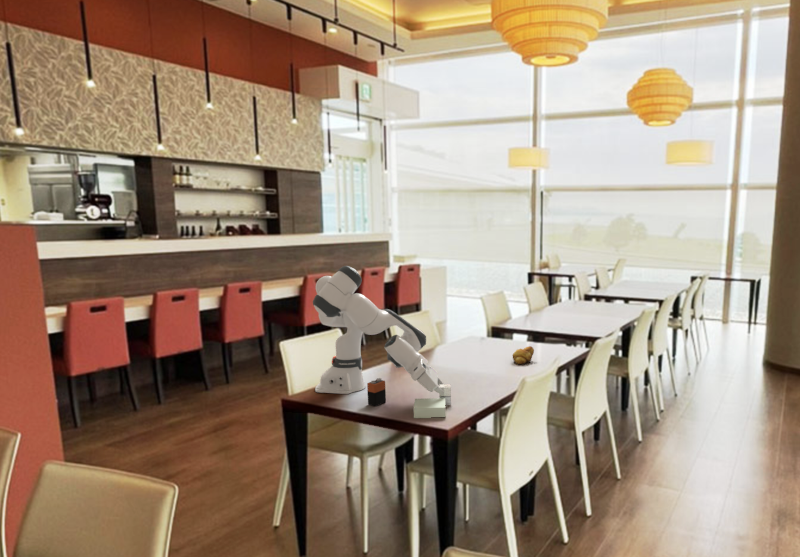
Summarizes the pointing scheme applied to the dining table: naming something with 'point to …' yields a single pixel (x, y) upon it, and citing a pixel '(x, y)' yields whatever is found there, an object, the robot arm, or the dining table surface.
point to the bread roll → (523, 355)
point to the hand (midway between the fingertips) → (443, 390)
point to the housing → (446, 393)
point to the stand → (429, 408)
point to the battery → (376, 392)
